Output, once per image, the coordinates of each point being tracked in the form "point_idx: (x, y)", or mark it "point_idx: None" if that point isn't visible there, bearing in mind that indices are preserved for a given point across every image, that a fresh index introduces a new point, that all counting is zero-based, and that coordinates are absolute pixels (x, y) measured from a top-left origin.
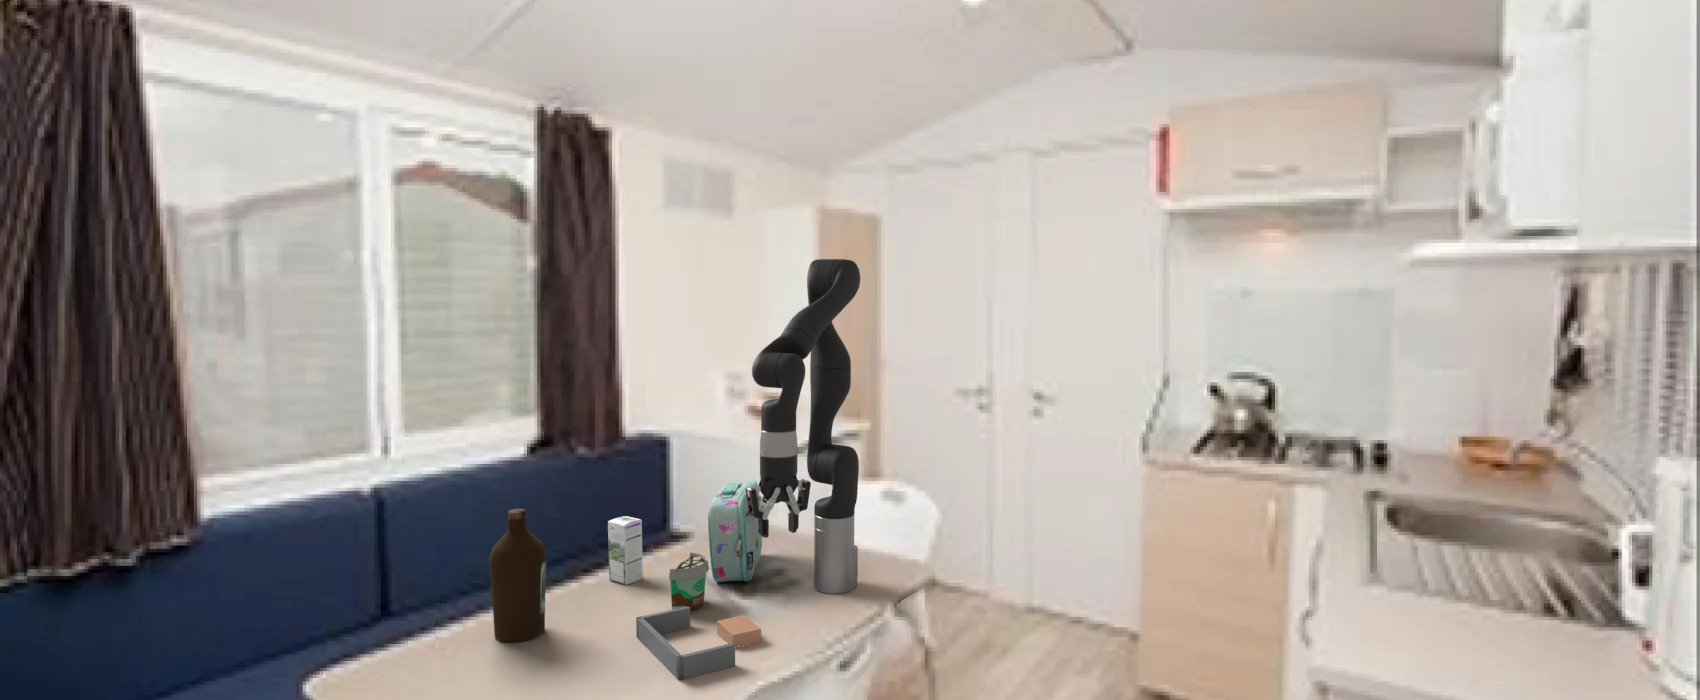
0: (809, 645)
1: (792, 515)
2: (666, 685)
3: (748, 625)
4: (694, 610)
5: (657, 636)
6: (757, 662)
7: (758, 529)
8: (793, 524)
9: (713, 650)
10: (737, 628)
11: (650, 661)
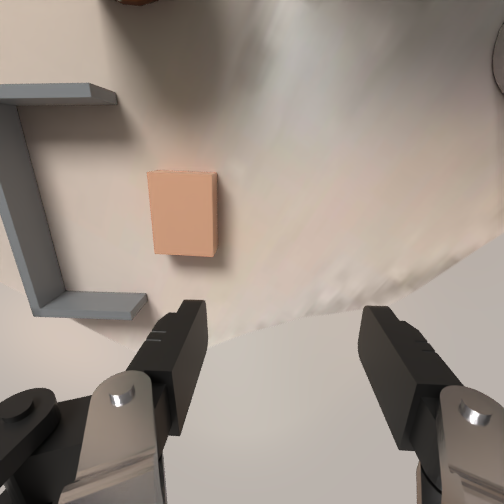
0: (281, 301)
1: (400, 433)
2: None
3: (198, 229)
4: (147, 3)
5: (3, 217)
6: None
7: (153, 329)
8: (373, 389)
9: (93, 318)
10: (172, 231)
11: None
